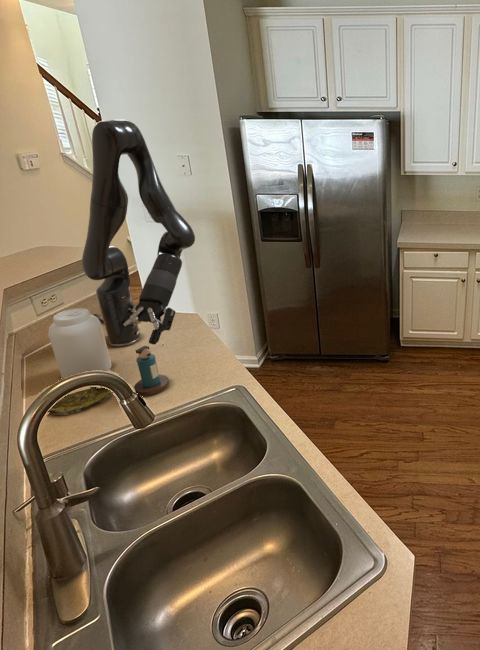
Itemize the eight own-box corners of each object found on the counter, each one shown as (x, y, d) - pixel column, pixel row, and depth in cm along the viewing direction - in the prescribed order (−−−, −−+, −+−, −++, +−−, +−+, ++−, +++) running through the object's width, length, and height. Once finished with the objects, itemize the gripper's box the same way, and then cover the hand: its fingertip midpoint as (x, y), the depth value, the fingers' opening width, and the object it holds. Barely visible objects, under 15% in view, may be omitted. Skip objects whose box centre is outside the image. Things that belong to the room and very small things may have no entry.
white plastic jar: (106, 357, 139) (91, 300, 132) (117, 372, 131) (101, 313, 124) (59, 371, 131) (40, 312, 124) (66, 389, 123) (46, 327, 116)
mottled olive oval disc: (49, 425, 110) (117, 401, 119) (44, 412, 108) (113, 388, 117) (45, 405, 116) (110, 383, 125) (40, 391, 114) (106, 371, 123)
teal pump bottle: (139, 385, 123) (130, 351, 119) (152, 377, 127) (144, 343, 123) (150, 388, 121) (142, 354, 117) (164, 380, 125) (156, 346, 121)
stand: (131, 387, 124) (130, 382, 124) (162, 375, 130) (162, 371, 130) (141, 400, 119) (140, 395, 118) (173, 387, 125) (172, 383, 124)
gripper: (128, 280, 122) (104, 335, 115) (173, 285, 120) (152, 341, 113) (145, 291, 128) (124, 343, 122) (188, 295, 127) (169, 348, 120)
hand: (137, 342), depth 118 cm, fingers open, 8 cm apart
